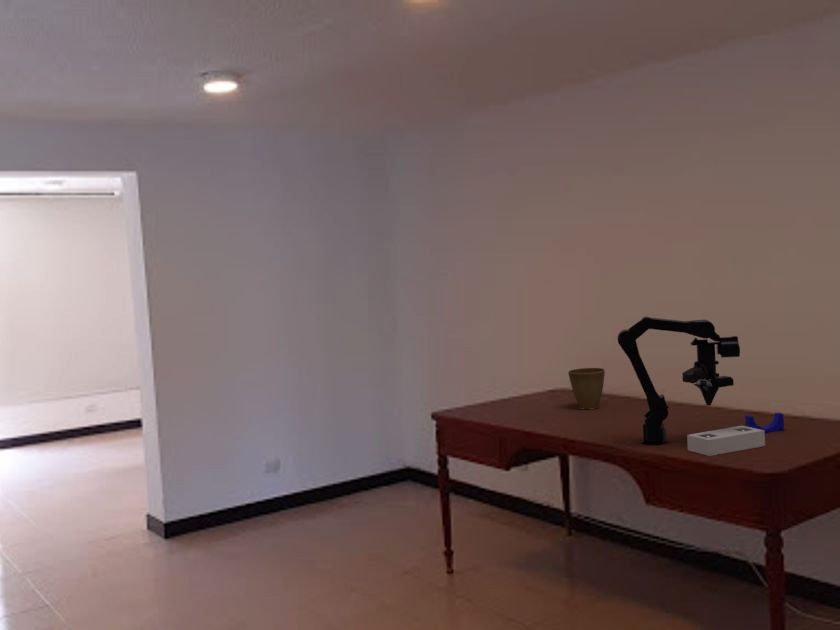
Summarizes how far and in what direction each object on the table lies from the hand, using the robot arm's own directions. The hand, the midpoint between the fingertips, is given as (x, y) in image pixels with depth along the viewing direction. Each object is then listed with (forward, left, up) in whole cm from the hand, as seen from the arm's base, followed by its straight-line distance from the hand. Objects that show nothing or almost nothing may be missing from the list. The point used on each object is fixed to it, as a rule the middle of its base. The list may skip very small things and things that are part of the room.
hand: (708, 405), depth 283 cm
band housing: (+8, -8, -12) cm, 16 cm away
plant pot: (-66, +42, -12) cm, 79 cm away
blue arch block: (+12, +20, -12) cm, 26 cm away
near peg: (+4, -14, -12) cm, 19 cm away
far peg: (+11, -2, -12) cm, 17 cm away
